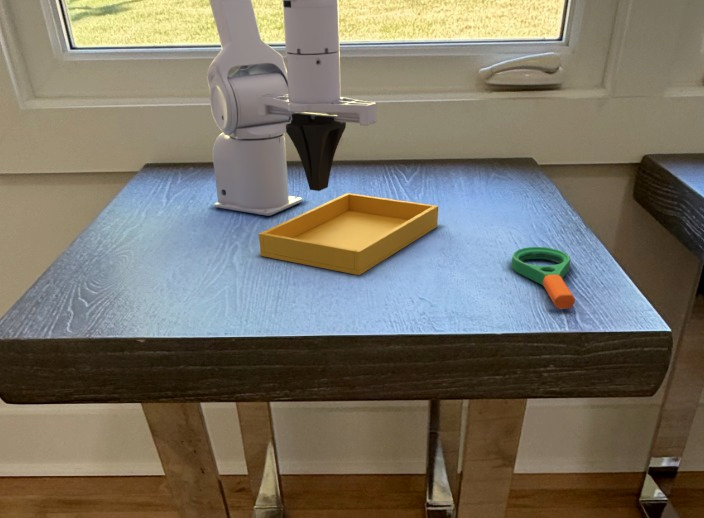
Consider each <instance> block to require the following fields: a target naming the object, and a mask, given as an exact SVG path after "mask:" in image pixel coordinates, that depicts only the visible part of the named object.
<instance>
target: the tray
mask: <svg viewBox="0 0 704 518" xmlns="http://www.w3.org/2000/svg"><path fill="white" fill-rule="evenodd" d="M438 218H439V205H434V204H429V203H428V204H427V203H420V202H412V201H407V200H399V199H392V198H385V197H379V196H372V195H364V194H359V193H358V194H357V193H350V192H346V193H344V194H342V195H340V196H338V197H335V198H333V199H331V200H329V201H327V202H325V203H322V204H320V205H318V206H315V207H313V208H312V209H310V210H307V211H305V212H303V213H301V214H298V215H296V216H295V217H294V216H293V217H292V218H290V219H287V220H286V221H283V222H282V223H279V224H277V225H275V226H273V227H270V228H268V229H266V230H264V231H262V232H260V233H258V240H259V250H260V256H261V257H266V258H269V259H275V260H279V261H285V262H288V263H289V262H290V263H296V264H299V265H300V264H301V265H304V266H305V265H306V266H310V267H315V268H320V269H325V270H331V271H336V272H341V273H346V274H351V275H355V276H360V275H363V274H364V273H366V272H367V271H368V270H370V269H372V268H374V267H375V266H377V265H379V264H380V263H381V262H383V261H385V260H387V259H388V258H389V257H391V256H392V255H395V254H396V253H398V252H400V250H402V249H404V248H405V247H407V246H409V245H410V244H412V243H414V242H416V241H417V240H419V239H420V238H421V237H423V236H425V235H426V234H428V233H430V232H432V231H433V230H434V229H436V228H438V220H439V219H438Z"/></svg>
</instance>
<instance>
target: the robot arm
mask: <svg viewBox="0 0 704 518" xmlns="http://www.w3.org/2000/svg"><path fill="white" fill-rule="evenodd" d="M208 2H209V4H210V9H211V12H212V16H213V20H214V25H215V28H216V32H217V35H218V40H219V43H220V47H221V50H220V51H219V52H218V53H217V55H216V56H215V57H214V58H213V60H212V62H211V63H210V65H209V66H208V69H207V73H206V80H207V86H208V92H209V104H210V109H211V114H212V117H213V120H214V122H215V125H216V126H217V128H218V129H219V130H220V131H221V132H222V133H219V135H218V136H217V137H216V138H215V141H214V144H213V147H212V163H213V171H214V179H215V186H216V194H217V202H215V203H214V207H215V208H219V209H225V210H229V211H236V212H243V213H249V214H255V215H261V216H265V217H266V216H267V217H268V216H269V217H270V216H273V215H275V214H277V213H280V212H282V211H284V210H287V209H289V208H291V207H293V206H295V205H298V204H300V203H302V202H303V198H302V197H300V196H299V197H298V196H292V195H290V193H289V179H288V178H289V177H288V164H287V163H288V162H287V150H286V149H287V148H286V136H285V134H287V135H288V137H289V138H290V140H291V142H292V144H293V146H294V148H295V149H296V152H297V154H298V156H299V159H300V161H301V165H302V168H303V171H304V174H305V177H306V180H307V184H308V188H309V191H316V192H321V191H323V190H326V189H328V187H329V182H330V176H331V170H332V166H333V161H334V157H335V155H336V152H337V149H338V147H339V143H340V141H341V138H342V136H343V134H344V132H345V130H346V127H347V123H351V124H359V126H366V127H368V126H370V125H373V124H376V123H377V102H374V101H366V100H360V99H356V98H355V99H354V98H349V97H343V96H342V94H341V93H342V91H341V56H340V55H341V53H340V17H339V16H340V13H339V12H340V11H339V4H340V3H339V0H282V13H283V29H284V41H285V42H284V43H285V46H284V47H285V59H286V60H285V61H286V64H285V61H284V56H283V55H282V54H280V52H279V51H277V50H275V49H274V48H273V47H272V46H270V45H269V44H267V42H265V41H263V39H262V38H261V33H260V30H259V26H258V21H257V17H256V13H255V12H256V11H255V9H254V5H253V0H209V1H208Z"/></svg>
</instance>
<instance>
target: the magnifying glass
mask: <svg viewBox="0 0 704 518" xmlns="http://www.w3.org/2000/svg"><path fill="white" fill-rule="evenodd" d="M534 259H535V260H550V261H553V262H556V263H558V264H551V265H541V264H540V265H539V264H533V263H527V262H525V261H526V260H534ZM570 265H571V256H570V255H569V254H568V253H567V252H564V251H563V250H559V249H557V248H552V247H547V246H545V247H544V246H529V247H528V246H527V247H523V248H520V249H518V250H516V251H514V252H513V254H512V258H511V269H512V270H513V271H514V272H516V273H517V274H519V275H520V276H521V275H522V276H523V277H525V278H527V279H530V280H532V281H533V282H535V283H538V284H539V285H541V286H543V287H544V289H545V291H546V293H547V294H548V296H549V298H550V300H551V301H552V303H553V305H554V307H555V308H557V309H560V310H561V309H562V310H566V309H571V308H572V307H573V306H574V304H575V302H576V298H575V296H574V295H573V293H572V292H571V289H569V287H568V286H567V284H566V283H565V281H564V277H566V275H567V274H568V272H569V270H570Z"/></svg>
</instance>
